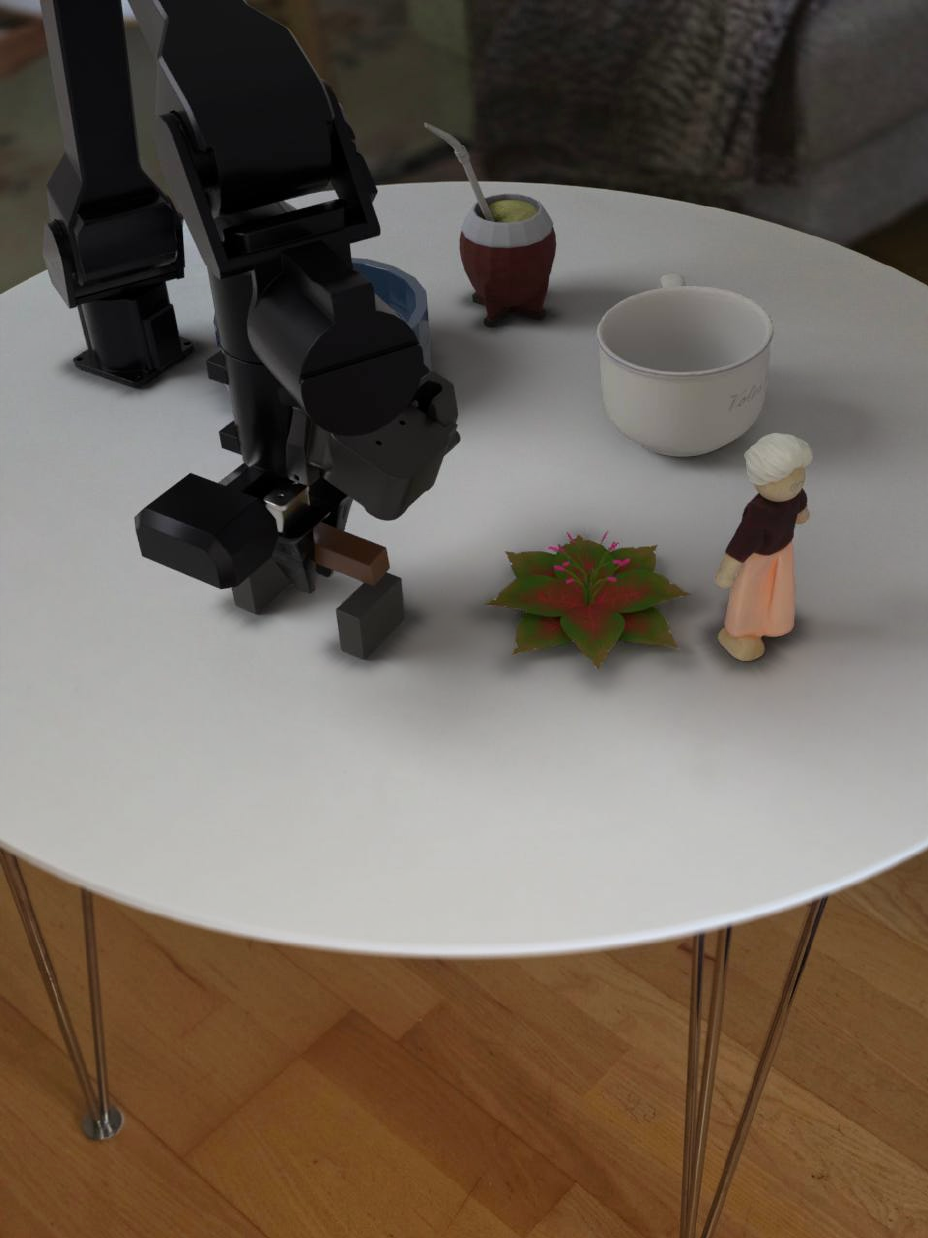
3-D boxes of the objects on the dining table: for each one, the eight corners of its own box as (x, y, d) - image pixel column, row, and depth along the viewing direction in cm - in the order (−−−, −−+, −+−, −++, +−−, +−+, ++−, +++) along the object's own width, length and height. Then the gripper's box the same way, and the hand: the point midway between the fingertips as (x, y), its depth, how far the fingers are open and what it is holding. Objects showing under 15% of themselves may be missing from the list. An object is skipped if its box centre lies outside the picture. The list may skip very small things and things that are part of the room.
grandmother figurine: (763, 683, 72) (791, 487, 64) (696, 658, 74) (715, 464, 65) (816, 600, 77) (849, 408, 69) (752, 579, 79) (777, 389, 70)
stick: (234, 530, 76) (228, 509, 75) (251, 513, 77) (245, 492, 76) (374, 587, 72) (369, 566, 71) (390, 567, 73) (386, 546, 72)
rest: (234, 605, 79) (226, 565, 77) (277, 567, 81) (271, 527, 79) (364, 660, 75) (359, 619, 73) (405, 618, 77) (401, 577, 75)
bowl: (183, 397, 96) (169, 326, 92) (310, 307, 105) (301, 240, 101) (351, 454, 90) (343, 382, 86) (470, 354, 99) (467, 284, 95)
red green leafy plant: (679, 537, 82) (684, 474, 79) (710, 675, 73) (717, 609, 70) (478, 545, 82) (476, 483, 79) (485, 684, 73) (482, 619, 70)
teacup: (756, 485, 85) (770, 373, 80) (584, 470, 87) (586, 360, 82) (765, 369, 96) (778, 264, 90) (610, 359, 97) (614, 255, 92)
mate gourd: (571, 299, 104) (574, 102, 94) (519, 345, 99) (516, 142, 89) (488, 277, 107) (482, 84, 98) (433, 321, 103) (421, 123, 93)
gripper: (291, 480, 57) (330, 739, 67) (520, 290, 69) (524, 537, 79) (97, 409, 62) (161, 662, 72) (342, 243, 73) (367, 481, 84)
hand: (315, 582), depth 76 cm, fingers closed on stick, 1 cm apart
